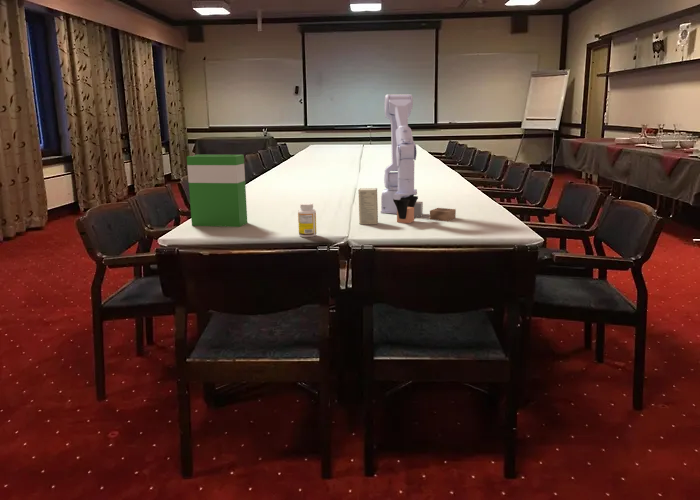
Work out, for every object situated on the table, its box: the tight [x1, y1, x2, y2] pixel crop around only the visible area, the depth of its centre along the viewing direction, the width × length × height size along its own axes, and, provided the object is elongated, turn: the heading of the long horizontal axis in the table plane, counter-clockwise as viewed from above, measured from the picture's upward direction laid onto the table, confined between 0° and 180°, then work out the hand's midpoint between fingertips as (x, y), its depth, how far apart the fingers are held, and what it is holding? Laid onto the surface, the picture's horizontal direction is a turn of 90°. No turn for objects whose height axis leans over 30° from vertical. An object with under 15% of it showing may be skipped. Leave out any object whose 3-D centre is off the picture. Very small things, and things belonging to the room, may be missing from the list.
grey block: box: [414, 201, 424, 218], centre depth 214 cm, size 4×4×5 cm
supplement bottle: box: [297, 202, 317, 238], centre depth 180 cm, size 6×6×10 cm
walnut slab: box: [429, 207, 457, 222], centre depth 208 cm, size 7×7×4 cm
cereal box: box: [186, 154, 248, 228], centre depth 200 cm, size 18×7×24 cm, turn 79°
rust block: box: [396, 207, 415, 224], centre depth 202 cm, size 4×4×5 cm
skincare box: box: [358, 187, 379, 225], centre depth 199 cm, size 6×4×12 cm
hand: (405, 217), depth 203 cm, fingers closed on rust block, 4 cm apart
